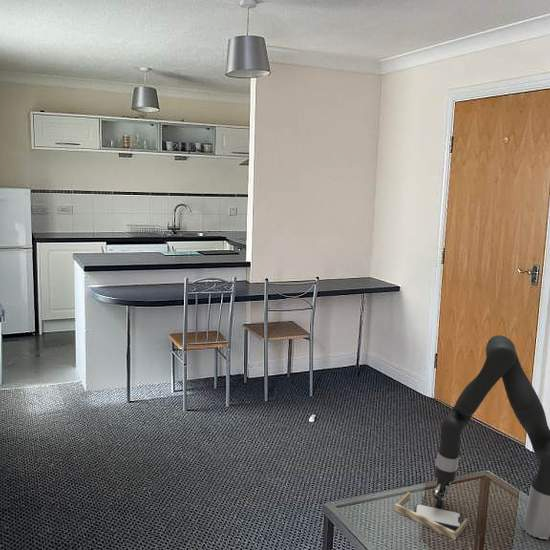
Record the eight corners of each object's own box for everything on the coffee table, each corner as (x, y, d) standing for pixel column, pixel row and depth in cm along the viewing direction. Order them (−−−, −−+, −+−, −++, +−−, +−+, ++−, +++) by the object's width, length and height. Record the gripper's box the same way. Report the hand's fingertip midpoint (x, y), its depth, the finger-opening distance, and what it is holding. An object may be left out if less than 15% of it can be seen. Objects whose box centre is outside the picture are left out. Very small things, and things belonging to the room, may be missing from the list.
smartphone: (413, 521, 213) (460, 532, 208) (414, 517, 212) (461, 527, 208) (415, 506, 221) (460, 516, 217) (415, 502, 220) (461, 512, 216)
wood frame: (466, 525, 212) (468, 518, 211) (455, 540, 203) (456, 534, 203) (407, 497, 225) (408, 491, 224) (394, 510, 217) (395, 504, 216)
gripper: (449, 477, 208) (441, 520, 212) (463, 462, 218) (455, 503, 223) (429, 468, 212) (421, 510, 217) (444, 454, 222) (436, 494, 227)
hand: (438, 507), depth 220 cm, fingers closed
